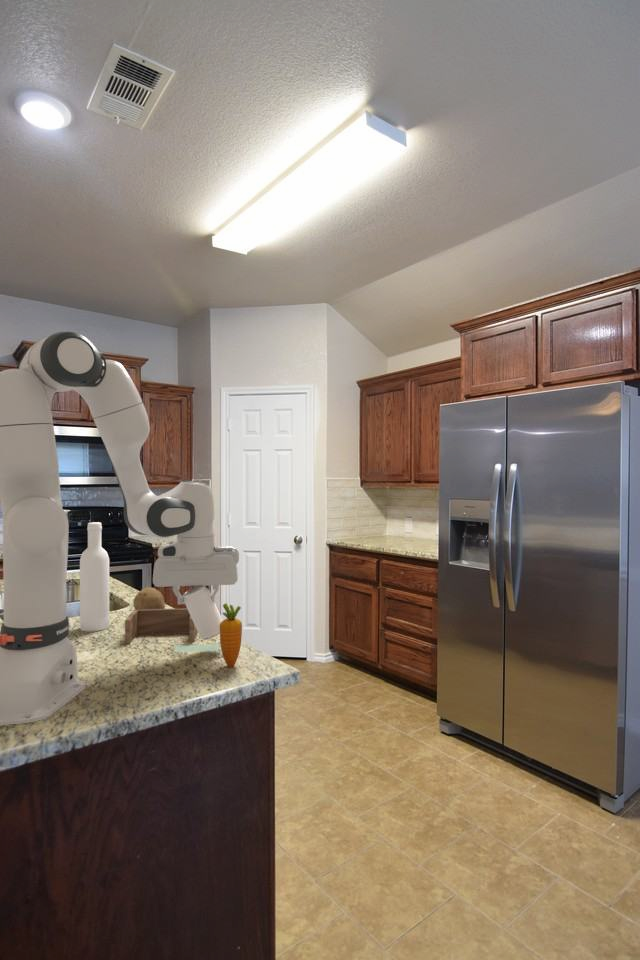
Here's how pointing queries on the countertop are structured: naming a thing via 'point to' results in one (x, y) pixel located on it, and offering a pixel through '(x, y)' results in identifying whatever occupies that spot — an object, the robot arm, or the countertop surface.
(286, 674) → the countertop surface
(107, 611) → the bottle
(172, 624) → the brown wooden u-shaped frame
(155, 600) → the natural sponge
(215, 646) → the mat
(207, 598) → the can
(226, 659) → the carrot
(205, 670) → the countertop surface
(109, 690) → the countertop surface
